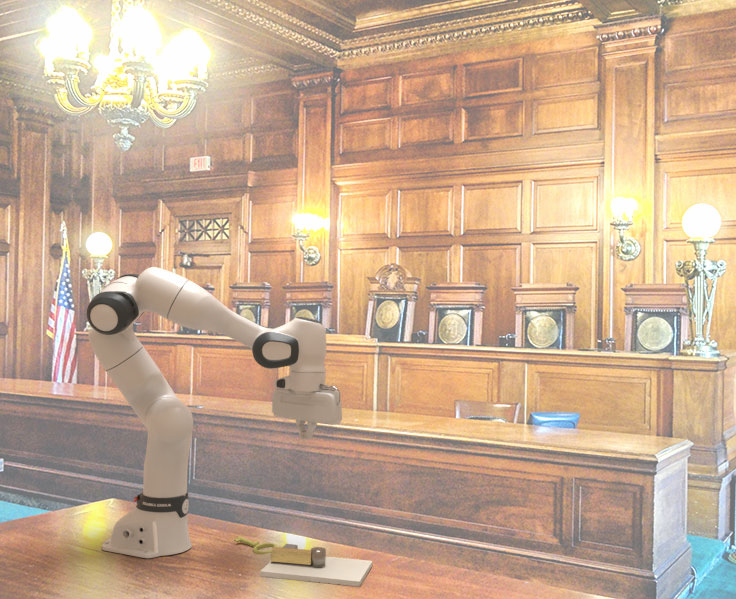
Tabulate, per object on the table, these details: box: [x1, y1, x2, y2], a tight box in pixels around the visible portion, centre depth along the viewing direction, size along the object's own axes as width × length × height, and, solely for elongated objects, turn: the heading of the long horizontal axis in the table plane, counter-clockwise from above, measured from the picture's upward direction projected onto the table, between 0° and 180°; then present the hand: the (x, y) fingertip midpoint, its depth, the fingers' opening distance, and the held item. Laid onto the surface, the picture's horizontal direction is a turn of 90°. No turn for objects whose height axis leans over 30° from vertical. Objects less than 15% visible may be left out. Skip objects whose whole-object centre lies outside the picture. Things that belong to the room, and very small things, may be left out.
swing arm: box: [270, 546, 327, 567], centre depth 193 cm, size 13×4×4 cm, turn 80°
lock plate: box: [259, 543, 374, 588], centre depth 193 cm, size 24×15×4 cm, turn 78°
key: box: [233, 535, 278, 555], centre depth 208 cm, size 7×12×2 cm, turn 73°
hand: (305, 438), depth 197 cm, fingers closed
